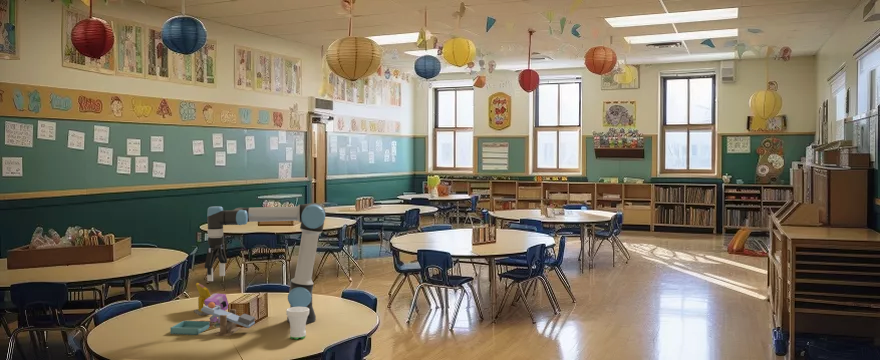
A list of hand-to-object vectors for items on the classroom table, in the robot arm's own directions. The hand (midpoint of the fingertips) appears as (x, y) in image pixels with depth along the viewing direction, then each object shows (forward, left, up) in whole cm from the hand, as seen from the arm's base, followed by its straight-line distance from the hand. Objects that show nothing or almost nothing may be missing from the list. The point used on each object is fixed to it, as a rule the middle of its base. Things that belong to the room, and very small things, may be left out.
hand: (216, 278), depth 348 cm
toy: (+6, -15, -27) cm, 31 cm away
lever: (-7, +3, -19) cm, 20 cm away
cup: (-45, +9, -27) cm, 53 cm away
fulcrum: (-7, +3, -27) cm, 28 cm away
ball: (+1, +3, -13) cm, 14 cm away
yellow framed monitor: (+23, -34, -27) cm, 49 cm away
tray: (+13, +3, -27) cm, 30 cm away
